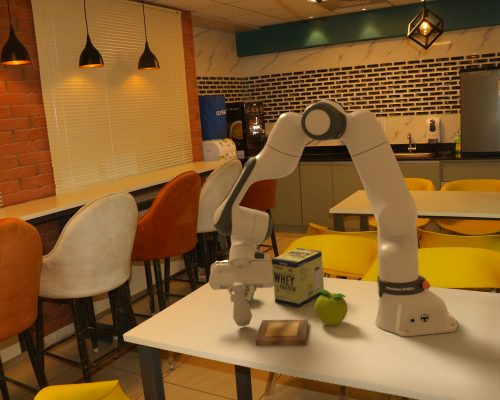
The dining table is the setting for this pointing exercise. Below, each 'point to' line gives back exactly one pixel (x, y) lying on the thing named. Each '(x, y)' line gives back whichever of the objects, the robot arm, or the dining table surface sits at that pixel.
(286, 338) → the base board
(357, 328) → the dining table surface
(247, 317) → the salt shaker
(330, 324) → the fruit
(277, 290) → the protein box
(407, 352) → the dining table surface
